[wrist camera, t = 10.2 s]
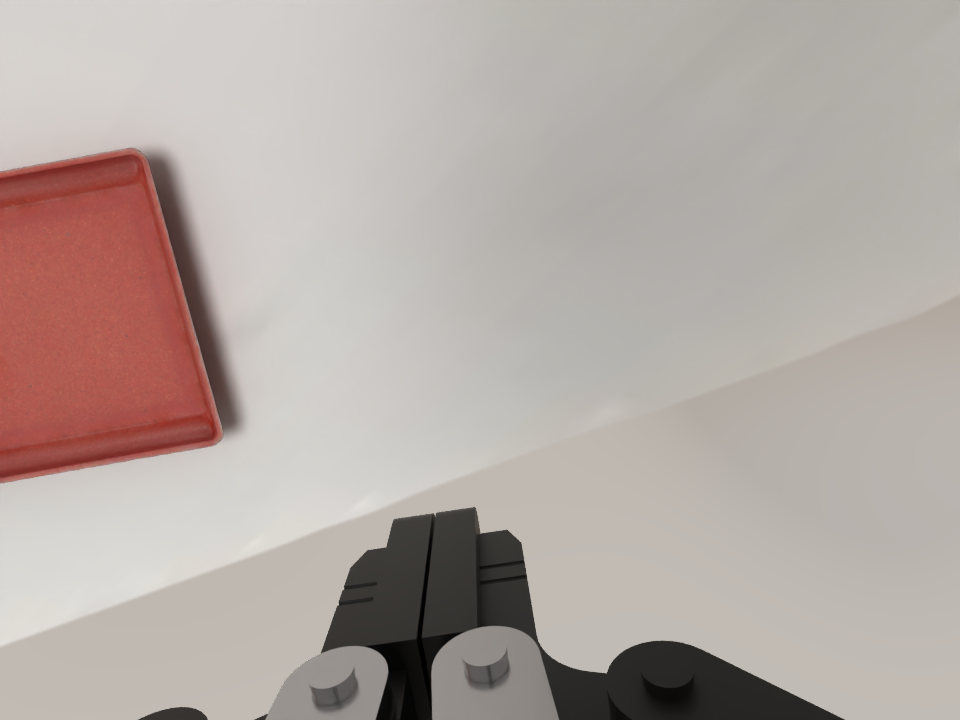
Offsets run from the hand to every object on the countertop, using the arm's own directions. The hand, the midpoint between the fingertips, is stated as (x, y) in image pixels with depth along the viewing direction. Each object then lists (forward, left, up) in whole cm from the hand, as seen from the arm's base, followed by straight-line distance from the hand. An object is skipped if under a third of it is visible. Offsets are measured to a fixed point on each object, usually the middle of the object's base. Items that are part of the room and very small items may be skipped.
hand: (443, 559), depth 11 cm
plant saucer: (-4, -25, -30) cm, 39 cm away
